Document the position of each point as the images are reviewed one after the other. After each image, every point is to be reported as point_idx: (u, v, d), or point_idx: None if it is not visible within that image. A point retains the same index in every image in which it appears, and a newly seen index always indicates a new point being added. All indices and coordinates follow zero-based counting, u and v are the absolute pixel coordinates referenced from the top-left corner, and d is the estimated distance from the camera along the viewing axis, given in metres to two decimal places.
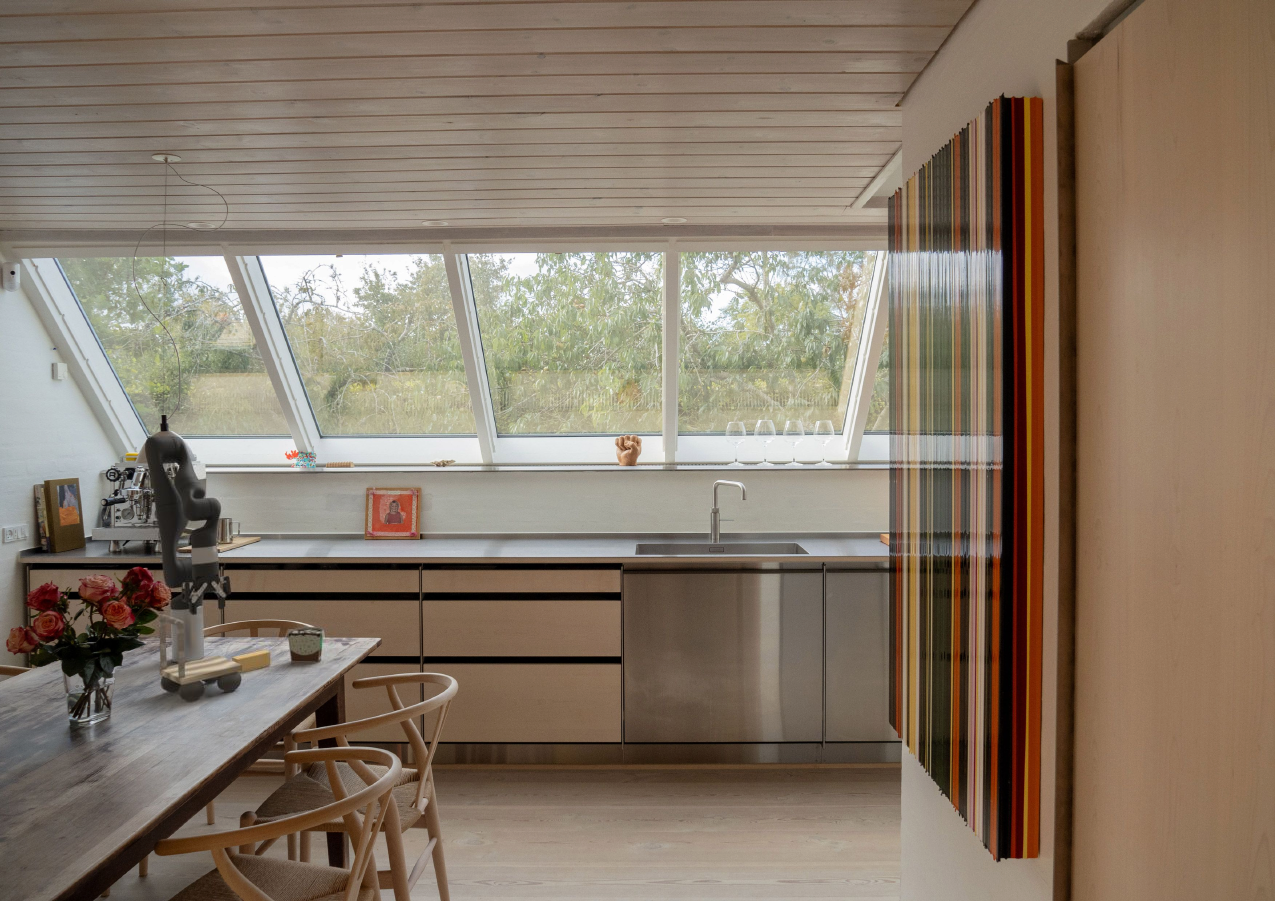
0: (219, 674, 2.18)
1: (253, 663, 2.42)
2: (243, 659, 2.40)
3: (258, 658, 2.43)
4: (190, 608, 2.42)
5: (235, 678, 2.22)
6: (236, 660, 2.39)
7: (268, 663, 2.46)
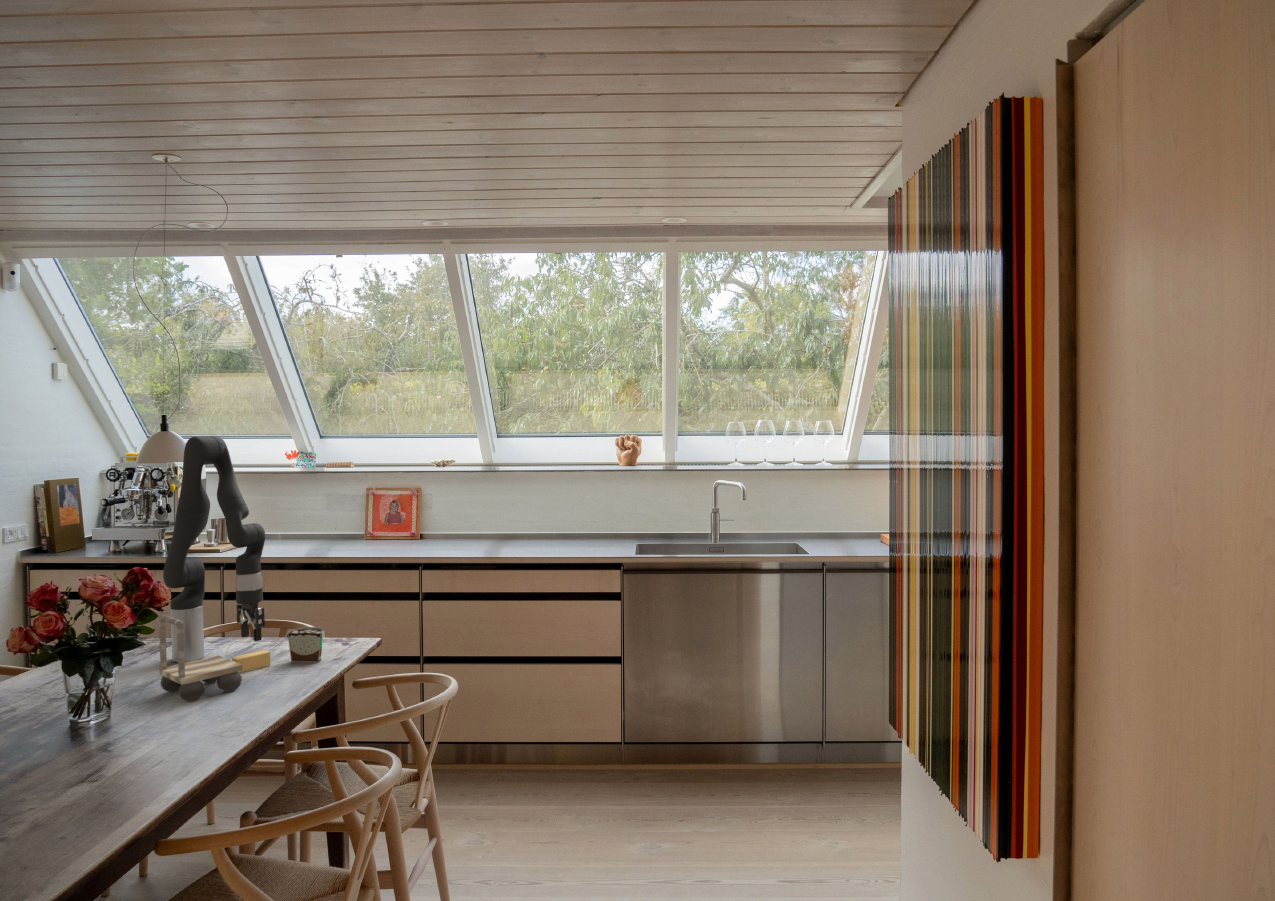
0: (219, 674, 2.18)
1: (253, 663, 2.42)
2: (243, 659, 2.40)
3: (258, 658, 2.43)
4: (259, 634, 2.40)
5: (235, 678, 2.22)
6: (236, 660, 2.39)
7: (268, 663, 2.46)
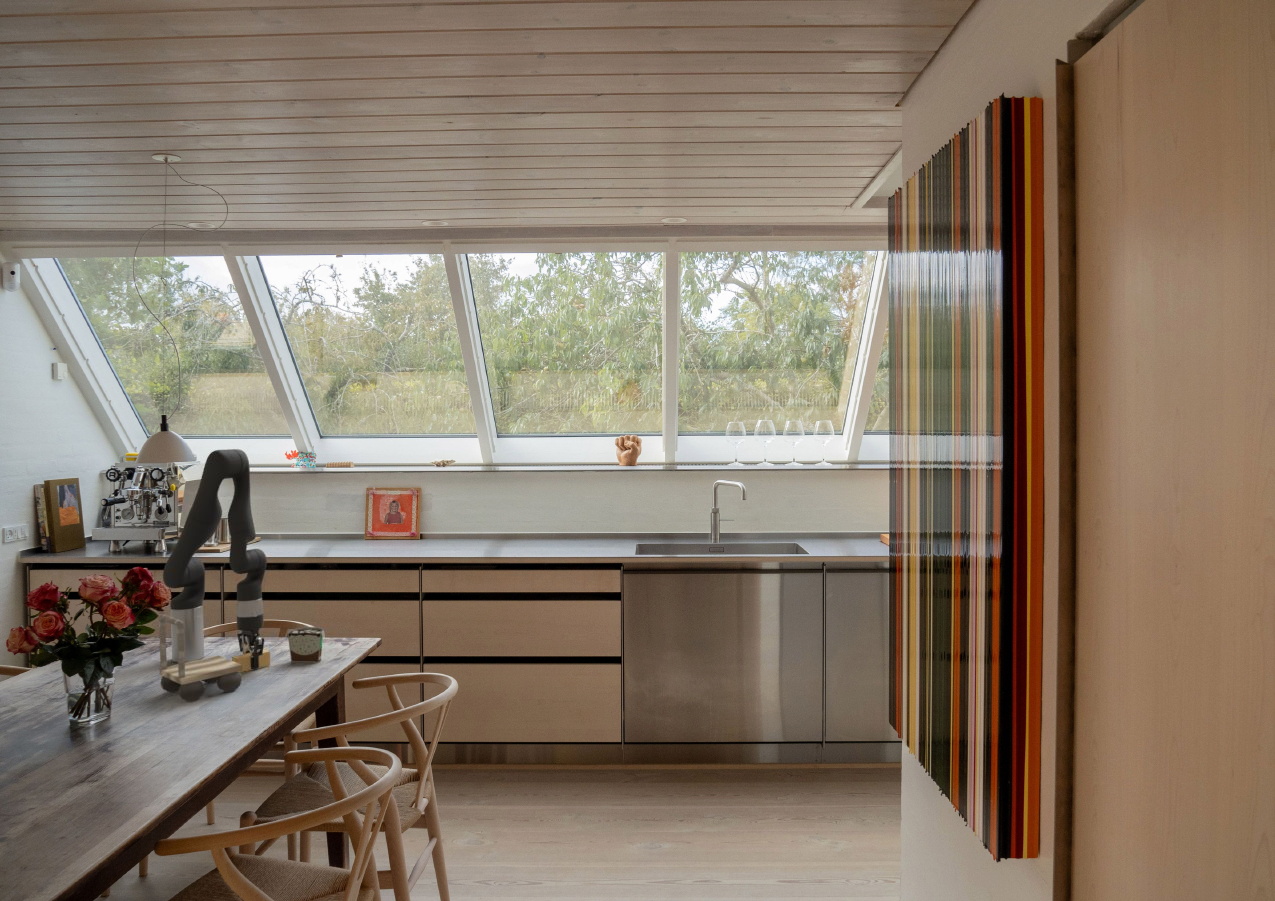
0: (219, 674, 2.18)
1: None
2: (243, 658, 2.40)
3: None
4: (256, 662, 2.42)
5: (235, 678, 2.22)
6: (236, 659, 2.39)
7: (268, 662, 2.46)
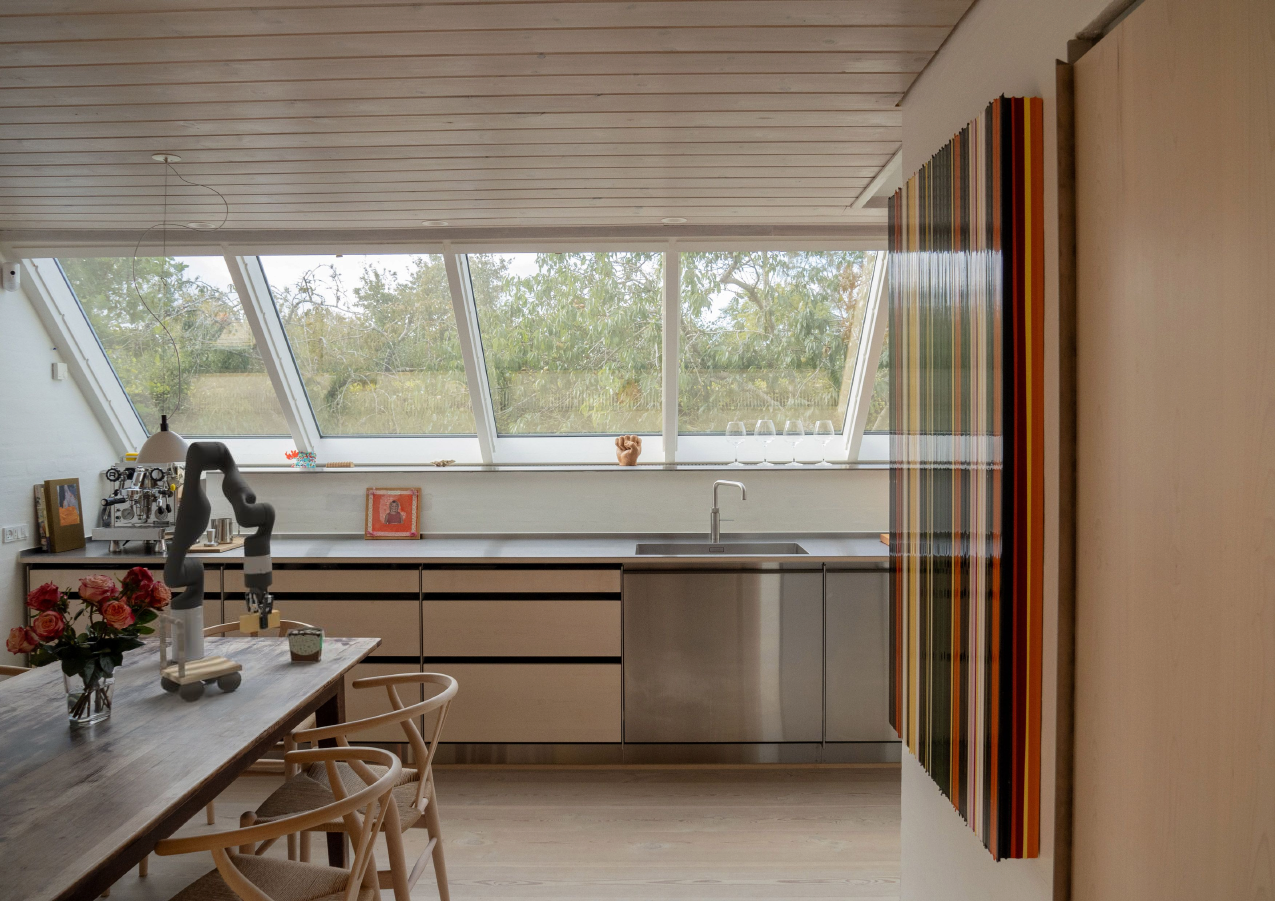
0: (219, 674, 2.18)
1: None
2: (251, 617, 2.27)
3: None
4: (265, 621, 2.28)
5: (235, 678, 2.22)
6: (244, 618, 2.26)
7: (278, 623, 2.32)
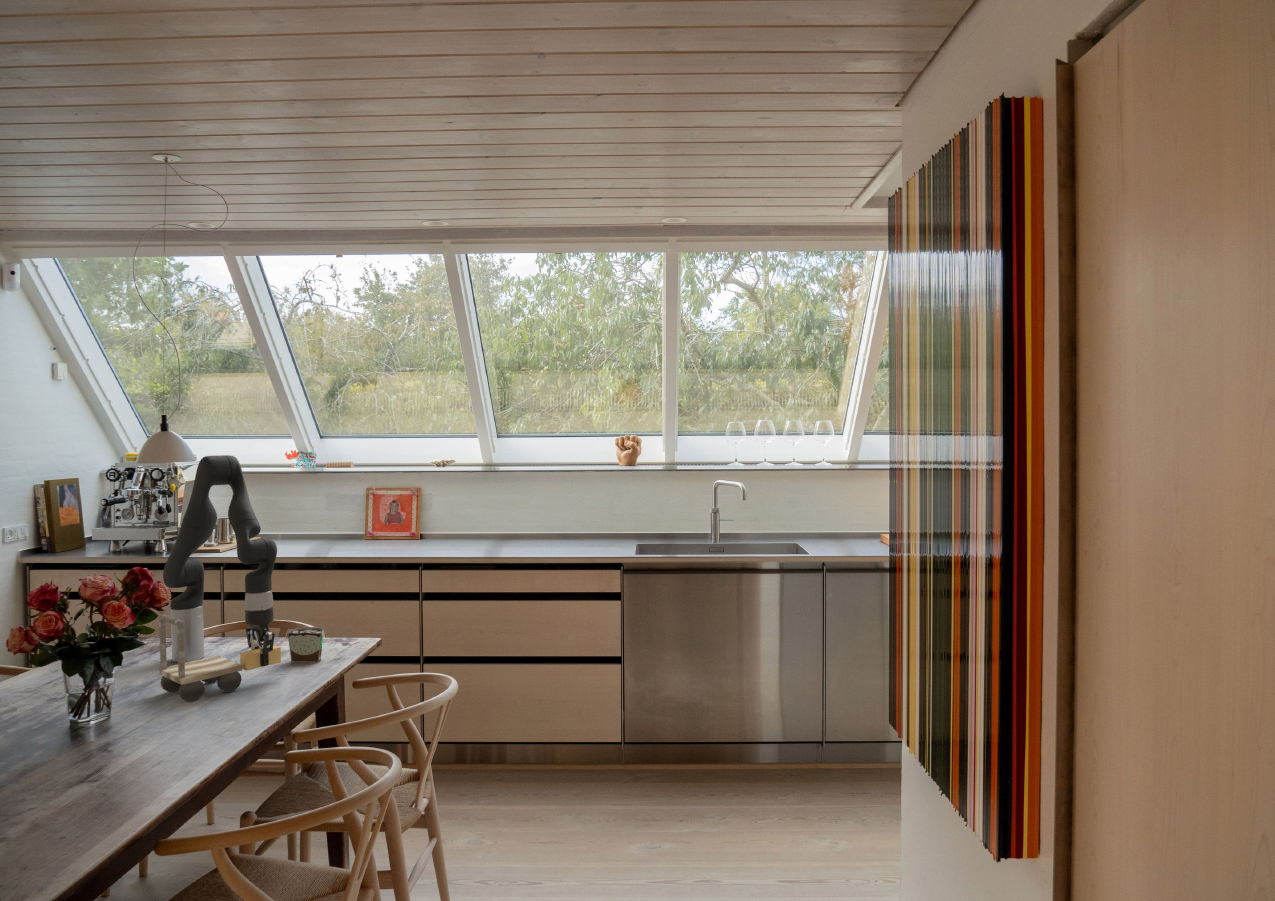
0: (219, 674, 2.18)
1: None
2: (252, 655, 2.25)
3: None
4: (266, 658, 2.27)
5: (235, 678, 2.22)
6: (245, 656, 2.24)
7: (278, 659, 2.31)
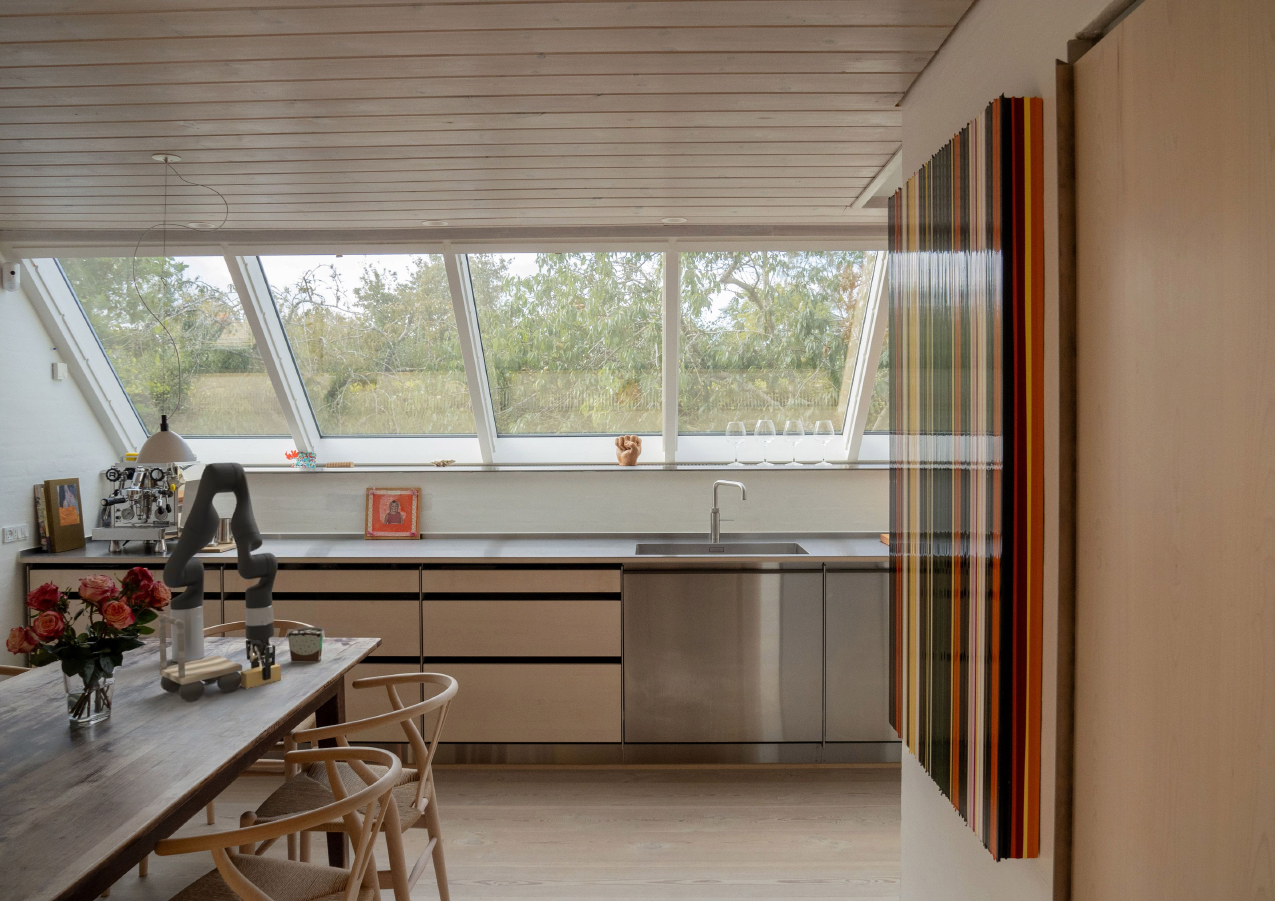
0: (219, 674, 2.18)
1: None
2: (252, 673, 2.25)
3: None
4: (268, 672, 2.26)
5: (235, 678, 2.22)
6: (245, 675, 2.24)
7: (279, 677, 2.31)
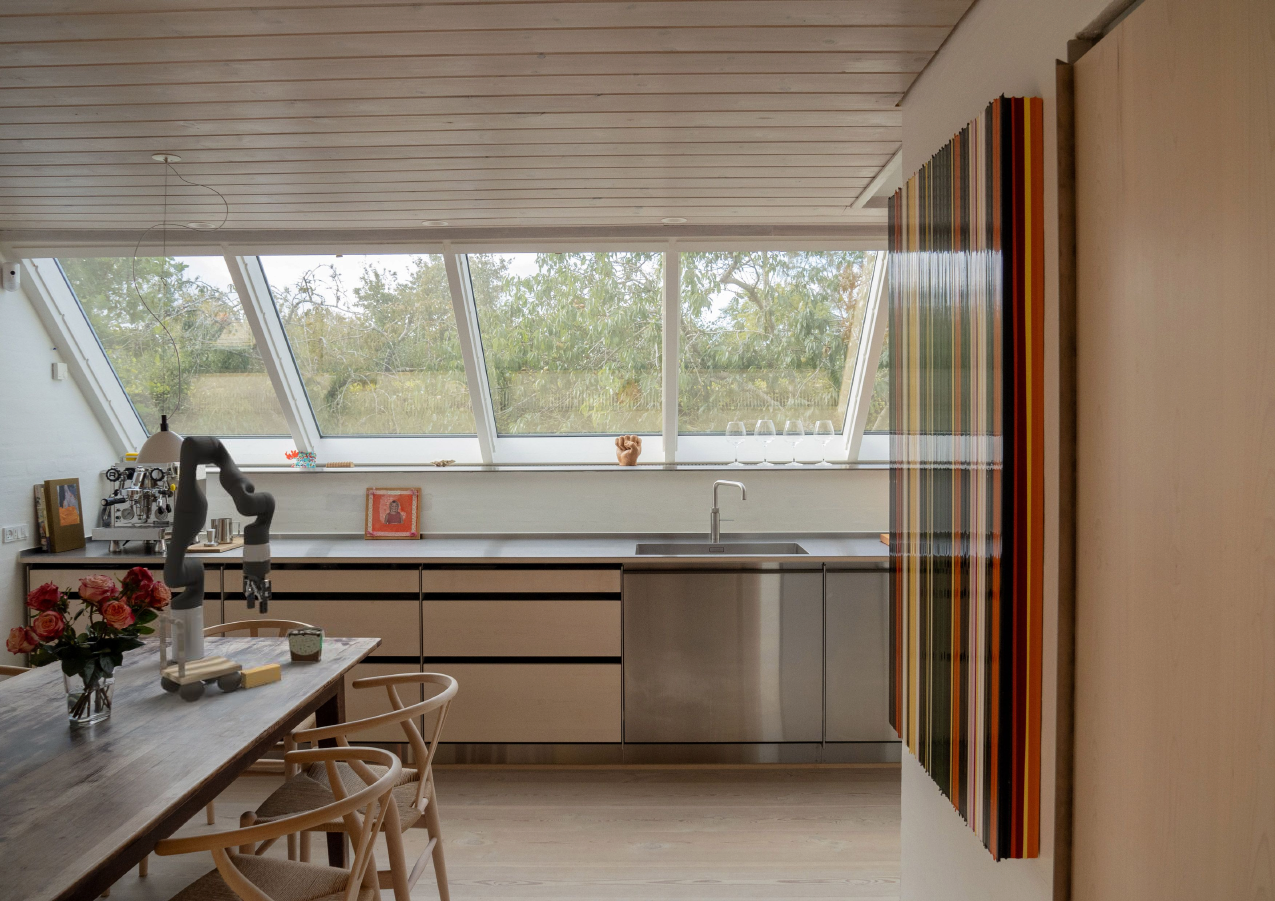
0: (219, 674, 2.18)
1: (263, 678, 2.27)
2: (252, 673, 2.25)
3: (268, 672, 2.29)
4: (265, 606, 2.32)
5: (235, 678, 2.22)
6: (245, 675, 2.24)
7: (279, 677, 2.31)
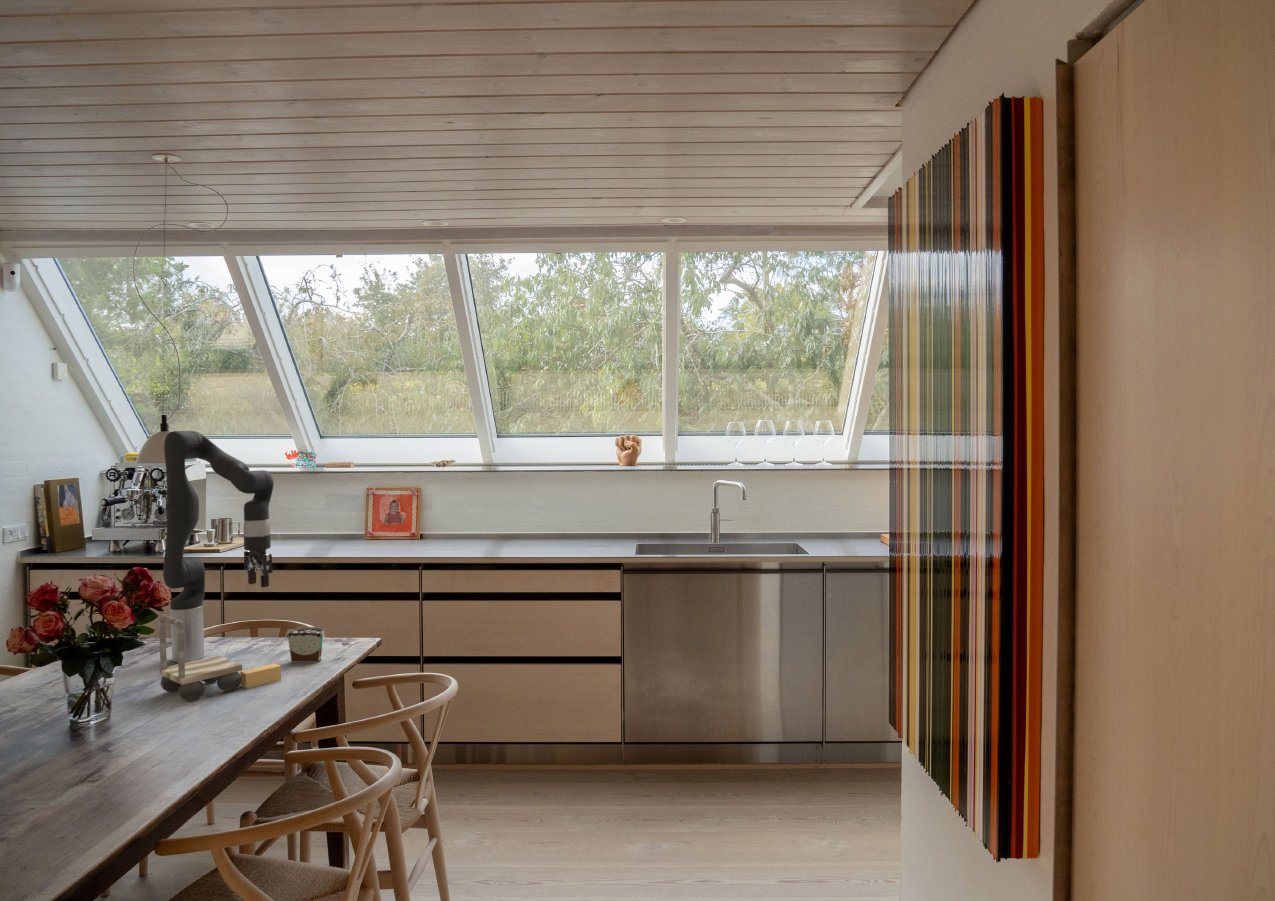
0: (219, 674, 2.18)
1: (263, 678, 2.27)
2: (252, 673, 2.25)
3: (268, 672, 2.28)
4: (266, 580, 2.40)
5: (235, 678, 2.22)
6: (244, 674, 2.24)
7: (279, 677, 2.31)
